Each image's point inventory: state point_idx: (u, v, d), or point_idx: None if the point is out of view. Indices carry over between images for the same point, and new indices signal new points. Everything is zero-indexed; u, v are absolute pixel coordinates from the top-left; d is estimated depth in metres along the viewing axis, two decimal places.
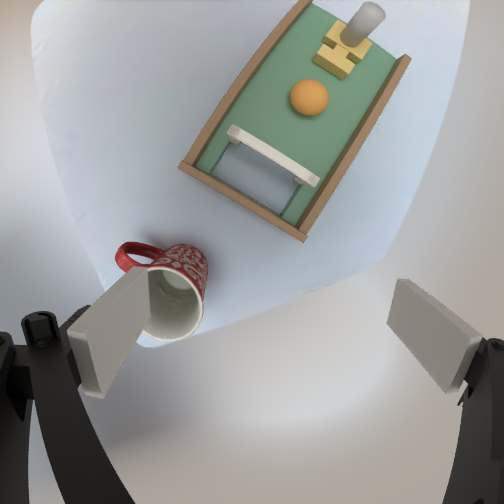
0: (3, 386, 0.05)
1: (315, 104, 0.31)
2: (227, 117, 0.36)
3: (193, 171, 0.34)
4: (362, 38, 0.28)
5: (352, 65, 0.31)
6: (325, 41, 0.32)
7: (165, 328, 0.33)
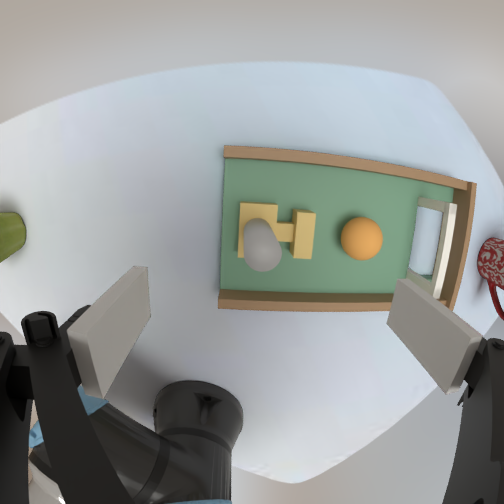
0: (3, 387, 0.05)
1: (378, 234, 0.30)
2: None
3: (454, 298, 0.33)
4: (269, 227, 0.28)
5: (301, 214, 0.30)
6: None
7: None
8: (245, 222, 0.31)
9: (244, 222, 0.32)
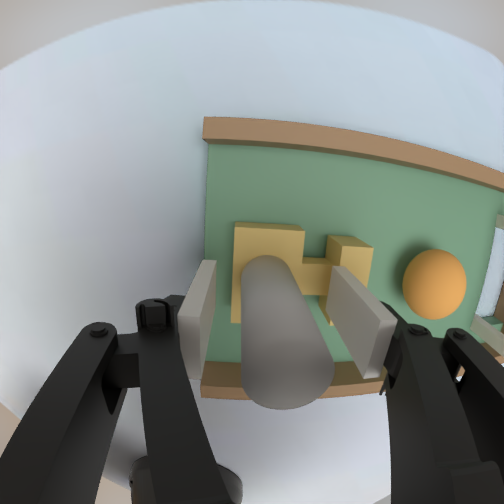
0: (99, 380, 0.06)
1: (464, 281, 0.15)
2: None
3: None
4: (293, 282, 0.14)
5: (349, 250, 0.16)
6: None
7: None
8: (244, 263, 0.17)
9: (242, 264, 0.17)
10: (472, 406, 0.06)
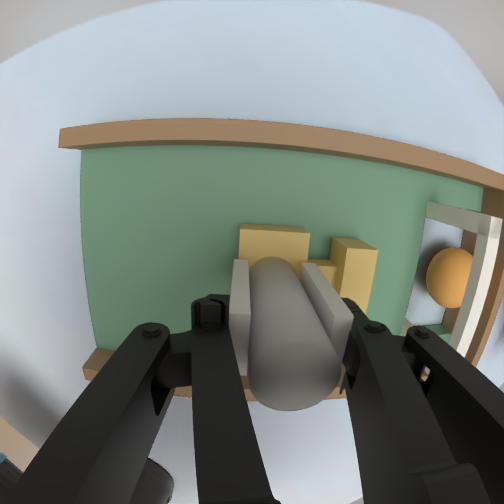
0: (149, 382, 0.07)
1: (455, 273, 0.18)
2: None
3: None
4: (299, 284, 0.14)
5: (353, 252, 0.16)
6: None
7: None
8: (249, 265, 0.17)
9: (248, 265, 0.17)
10: (442, 409, 0.06)
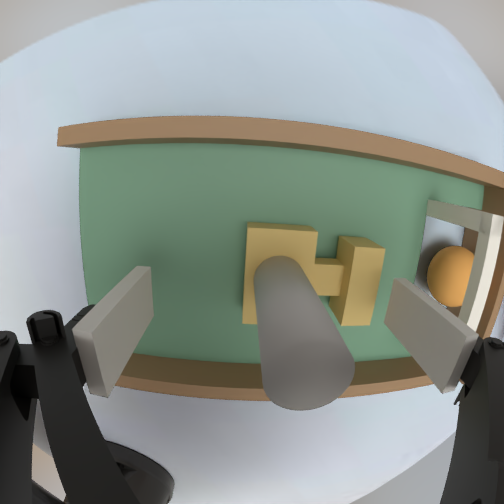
0: (7, 386, 0.05)
1: (456, 271, 0.18)
2: (380, 358, 0.22)
3: None
4: (308, 282, 0.14)
5: (361, 251, 0.16)
6: None
7: None
8: (257, 264, 0.17)
9: (255, 264, 0.17)
10: None
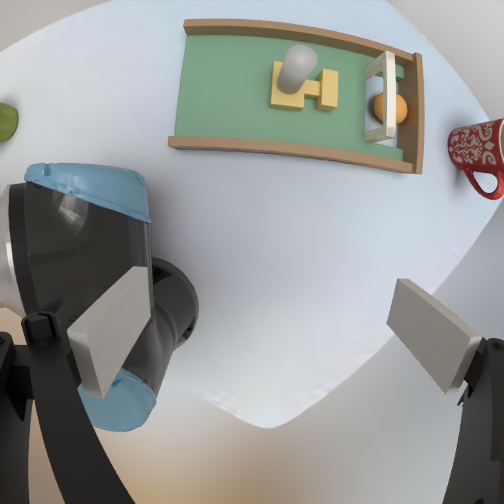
0: (3, 387, 0.05)
1: None
2: None
3: (419, 158, 0.32)
4: None
5: (326, 70, 0.30)
6: None
7: None
8: (278, 75, 0.31)
9: (277, 76, 0.31)
10: None
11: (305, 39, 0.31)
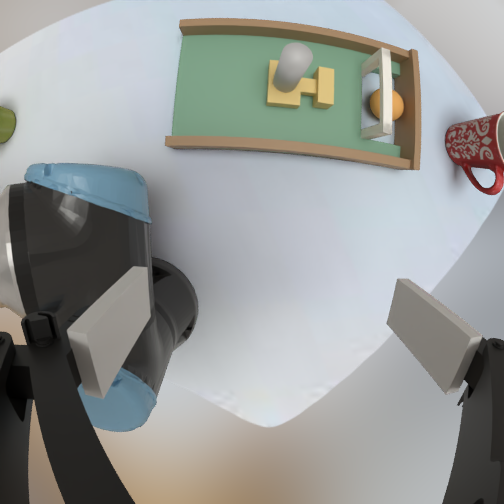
0: (3, 387, 0.05)
1: None
2: None
3: (417, 155, 0.32)
4: None
5: (322, 68, 0.30)
6: None
7: None
8: (274, 74, 0.31)
9: (273, 74, 0.31)
10: None
11: (301, 37, 0.31)
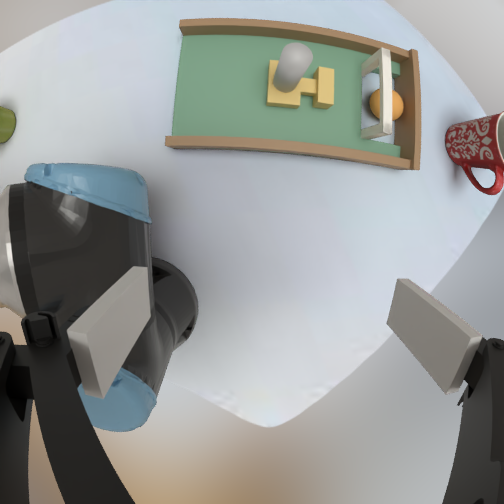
0: (3, 387, 0.05)
1: None
2: None
3: (417, 155, 0.32)
4: None
5: (322, 68, 0.30)
6: None
7: None
8: (274, 74, 0.31)
9: (273, 74, 0.31)
10: None
11: (301, 37, 0.31)
